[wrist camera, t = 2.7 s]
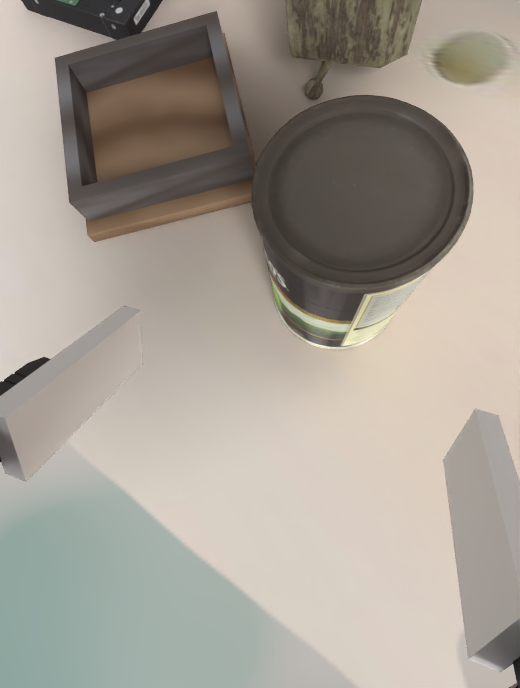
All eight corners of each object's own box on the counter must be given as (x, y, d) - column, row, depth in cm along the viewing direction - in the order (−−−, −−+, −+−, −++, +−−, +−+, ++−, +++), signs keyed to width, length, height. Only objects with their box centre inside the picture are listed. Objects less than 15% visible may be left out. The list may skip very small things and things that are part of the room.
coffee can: (275, 354, 31) (253, 295, 17) (271, 238, 33) (248, 106, 20) (407, 348, 30) (492, 279, 16) (393, 228, 32) (458, 81, 19)
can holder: (263, 198, 34) (257, 167, 30) (94, 241, 35) (67, 217, 31) (226, 45, 39) (217, -1, 34) (76, 87, 40) (50, 47, 35)
